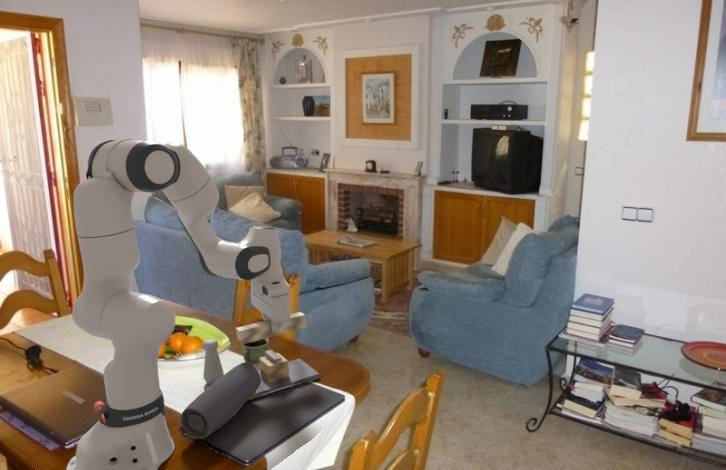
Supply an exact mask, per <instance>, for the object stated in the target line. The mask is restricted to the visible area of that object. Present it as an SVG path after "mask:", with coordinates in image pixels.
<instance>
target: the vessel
mask: <svg viewBox="0 0 726 470" xmlns="http://www.w3.org/2000/svg"><path fill="white" fill-rule="evenodd" d="M269 342H270V341H269V338H265V339H261V340H257V341H254V342H250V343H246V344H242V345H241V346H242V352H241V354H242V355H241V356H242V357H243V360H244V363H248V364H251V365H252V366H257V365H259V366H260V363H259V358H261V357H264V356H265V351H268V350H271V348H270V346H269Z"/></svg>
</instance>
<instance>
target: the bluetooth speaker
mask: <svg viewBox="0 0 726 470" xmlns="http://www.w3.org/2000/svg"><path fill="white" fill-rule="evenodd" d="M260 383H261V377H260V375H259V373H258V370H257V368H256V367H255V365H251V364H248V363H246V362H242V363H240V364H238V365H235V366H234V367H233V368H231V369H230V370H229V371H227V372H226V373H224V375H223V376H222V377H221V378H219V379H218V380H217V381H215V382H214V383H213V384H212V385H208V387H207V388H206V389H204V391H202V392H201V393H200V394H199V395H197V397H196V398H195V399H194V400H193V401H191V402H190V403H189V404H188V405H187V406H186V407H185V409H183V411H182V412H181V415H180V424H181V426H182V429H183V431H184V432H185V433H186V434H187V435H188V436H189V437H191V438H194V439H197V440H203V439H206V438H207V437H209V436H210V435H211V434H213V433H214V432H215V431H216V430H218V429H217V428H219V427H221V426H222V427H224V426H225V425H226V424H227V423H228V422H229V421H230V420H232V418H233V417H234V416H235V415H236V414H237V413H238V412H239V411H240V410H241V409H242V407H243V406H244V405H245V404H246V403H247V402H248V399H249V398H250V397H251V396H252V395H253V394H254V392H255V391H256V390H257V389H258V387H259V386H260ZM239 409H240V410H239ZM238 410H239V411H238ZM237 411H238V412H237ZM236 412H237V413H236ZM235 413H236V414H235ZM234 414H235V415H234ZM233 415H234V416H233ZM232 416H233V417H232ZM231 417H232V418H231ZM228 420H229V421H228ZM226 422H227V423H226ZM225 423H226V424H225ZM224 424H225V425H224ZM223 425H224V426H223ZM222 427H221V428H222ZM219 429H220V428H219Z"/></svg>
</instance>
